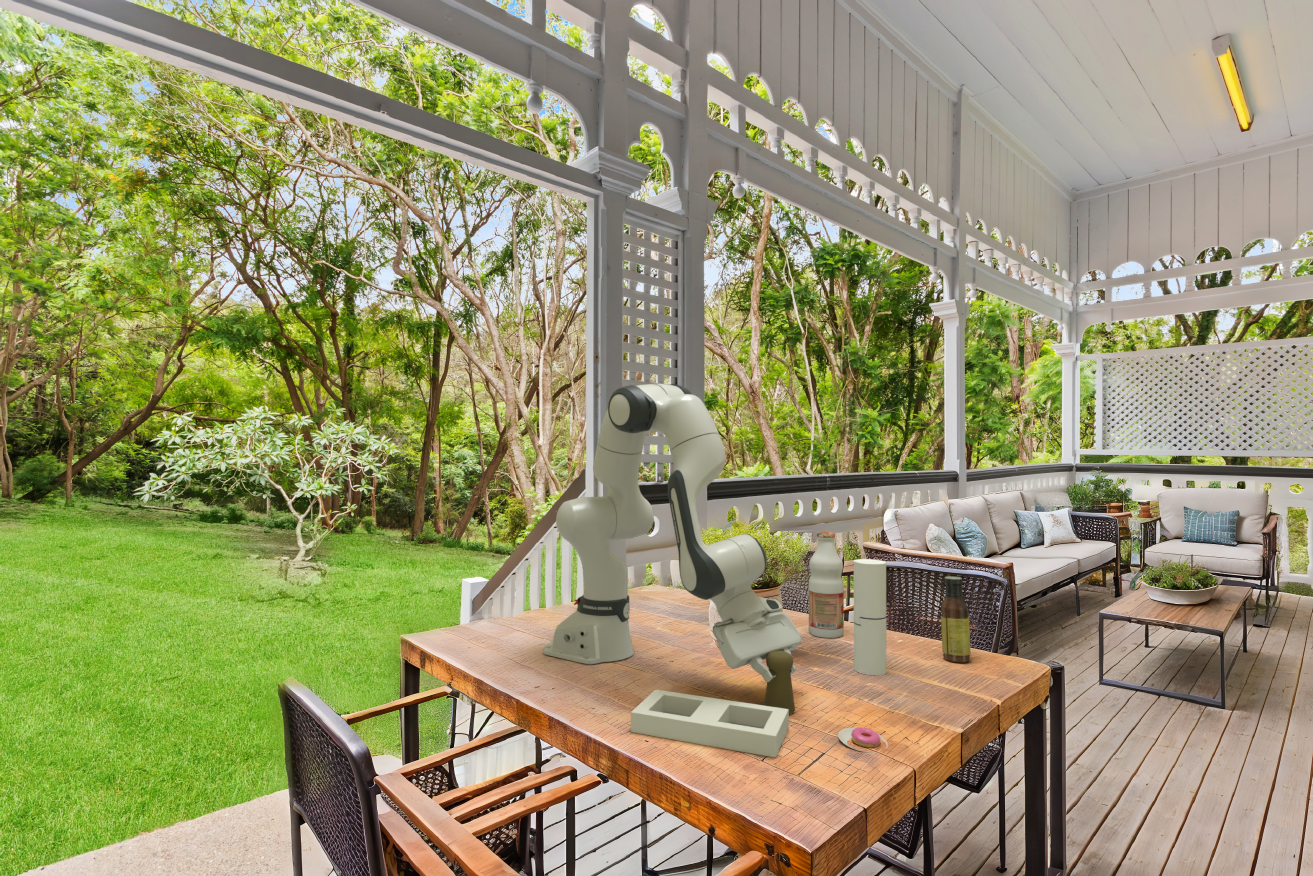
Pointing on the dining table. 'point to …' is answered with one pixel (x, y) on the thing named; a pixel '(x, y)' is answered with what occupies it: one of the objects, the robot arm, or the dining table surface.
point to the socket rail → (712, 722)
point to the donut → (861, 737)
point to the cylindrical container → (870, 616)
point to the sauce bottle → (955, 623)
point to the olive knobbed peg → (780, 681)
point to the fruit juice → (826, 589)
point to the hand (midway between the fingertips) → (782, 676)
